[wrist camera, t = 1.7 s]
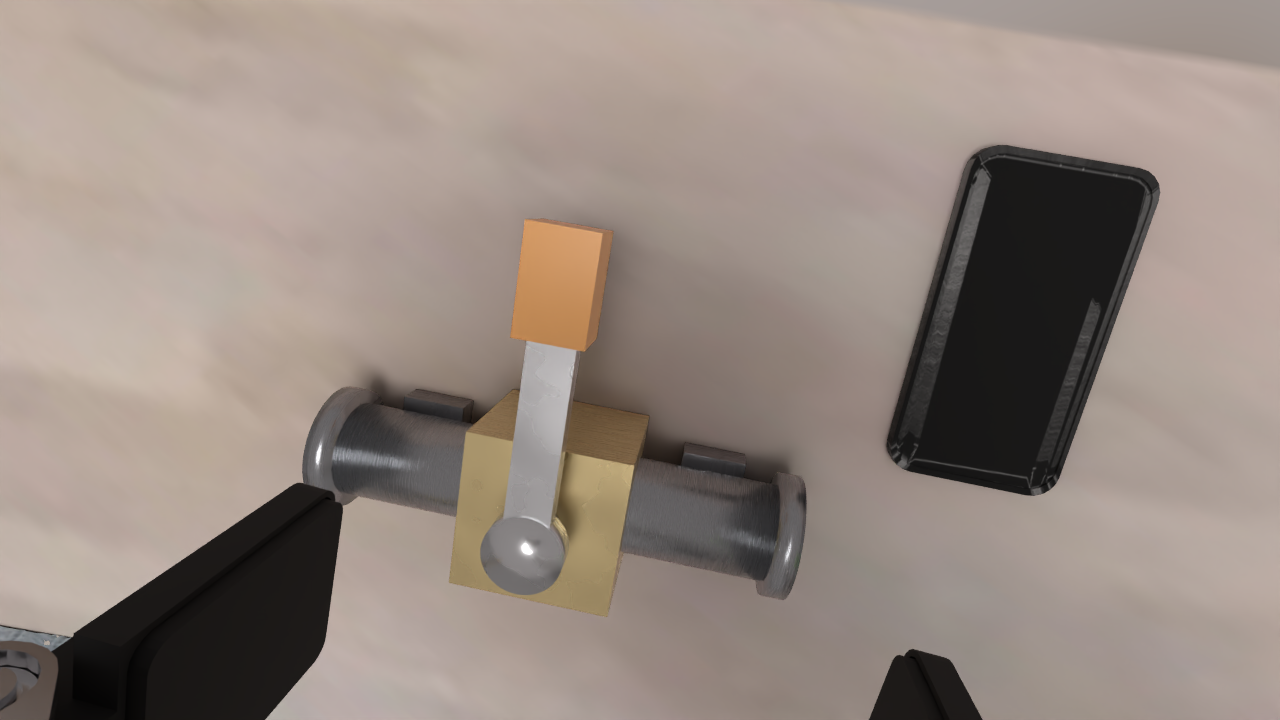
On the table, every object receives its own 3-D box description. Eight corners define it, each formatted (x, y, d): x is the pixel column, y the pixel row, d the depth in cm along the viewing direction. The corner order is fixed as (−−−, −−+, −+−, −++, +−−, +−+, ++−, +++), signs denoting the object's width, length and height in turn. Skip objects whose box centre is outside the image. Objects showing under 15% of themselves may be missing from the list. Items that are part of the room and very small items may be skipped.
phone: (885, 466, 31) (979, 140, 28) (879, 457, 32) (968, 143, 29) (1053, 500, 31) (1171, 173, 27) (1041, 490, 32) (1154, 174, 28)
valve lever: (566, 577, 27) (552, 612, 24) (490, 561, 27) (469, 594, 25) (621, 232, 23) (611, 234, 21) (535, 217, 24) (516, 217, 21)
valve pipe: (799, 445, 32) (825, 514, 25) (768, 571, 34) (784, 671, 26) (371, 361, 34) (276, 403, 26) (362, 485, 35) (270, 558, 28)
